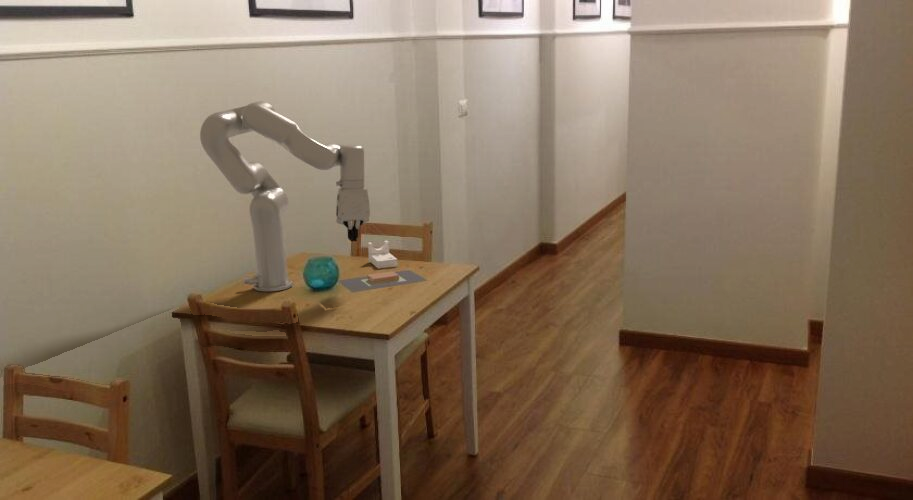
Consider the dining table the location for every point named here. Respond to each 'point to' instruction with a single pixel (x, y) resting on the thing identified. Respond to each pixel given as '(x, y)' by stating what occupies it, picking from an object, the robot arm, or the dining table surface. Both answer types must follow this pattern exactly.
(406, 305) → the dining table surface
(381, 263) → the bracket
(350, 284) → the mat
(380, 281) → the tile
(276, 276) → the robot arm
